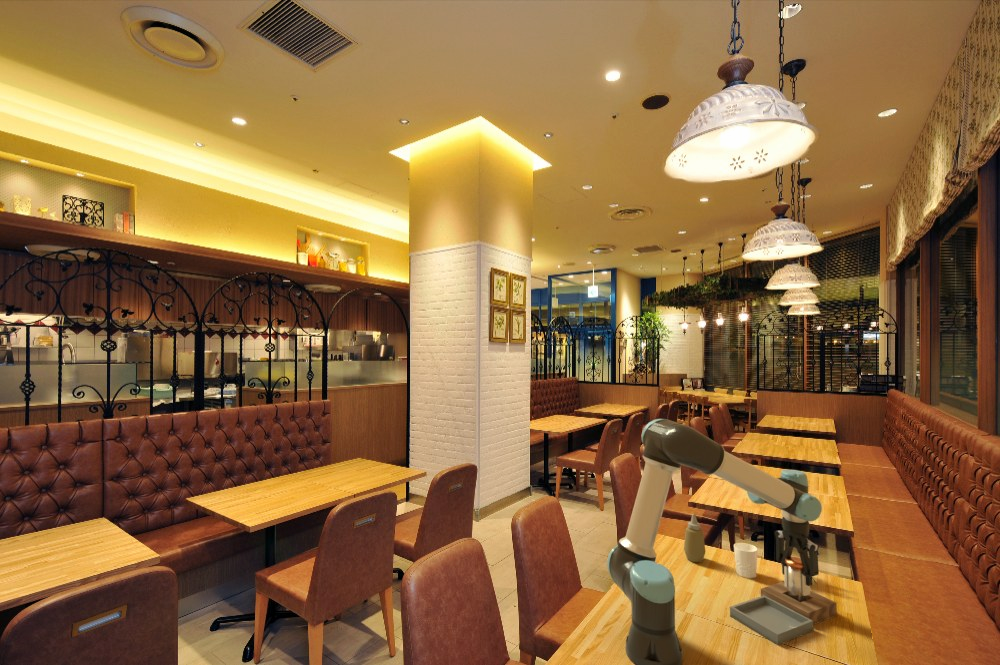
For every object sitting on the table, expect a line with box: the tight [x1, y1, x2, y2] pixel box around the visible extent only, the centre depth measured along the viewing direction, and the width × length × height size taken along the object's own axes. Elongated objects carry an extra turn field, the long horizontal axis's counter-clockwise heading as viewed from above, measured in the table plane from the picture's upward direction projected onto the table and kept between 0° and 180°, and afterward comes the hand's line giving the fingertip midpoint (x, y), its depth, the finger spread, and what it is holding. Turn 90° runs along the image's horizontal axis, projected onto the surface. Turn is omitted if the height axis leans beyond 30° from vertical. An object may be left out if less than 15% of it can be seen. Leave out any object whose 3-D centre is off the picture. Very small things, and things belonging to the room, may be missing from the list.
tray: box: [729, 595, 814, 646], centre depth 146 cm, size 16×16×3 cm
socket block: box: [760, 580, 838, 626], centre depth 154 cm, size 14×16×4 cm
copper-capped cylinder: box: [785, 556, 807, 602], centre depth 154 cm, size 6×6×15 cm
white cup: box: [733, 542, 758, 579], centre depth 177 cm, size 8×8×10 cm
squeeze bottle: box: [683, 513, 706, 563], centre depth 189 cm, size 8×8×18 cm
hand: (797, 589), depth 154 cm, fingers open, 5 cm apart
